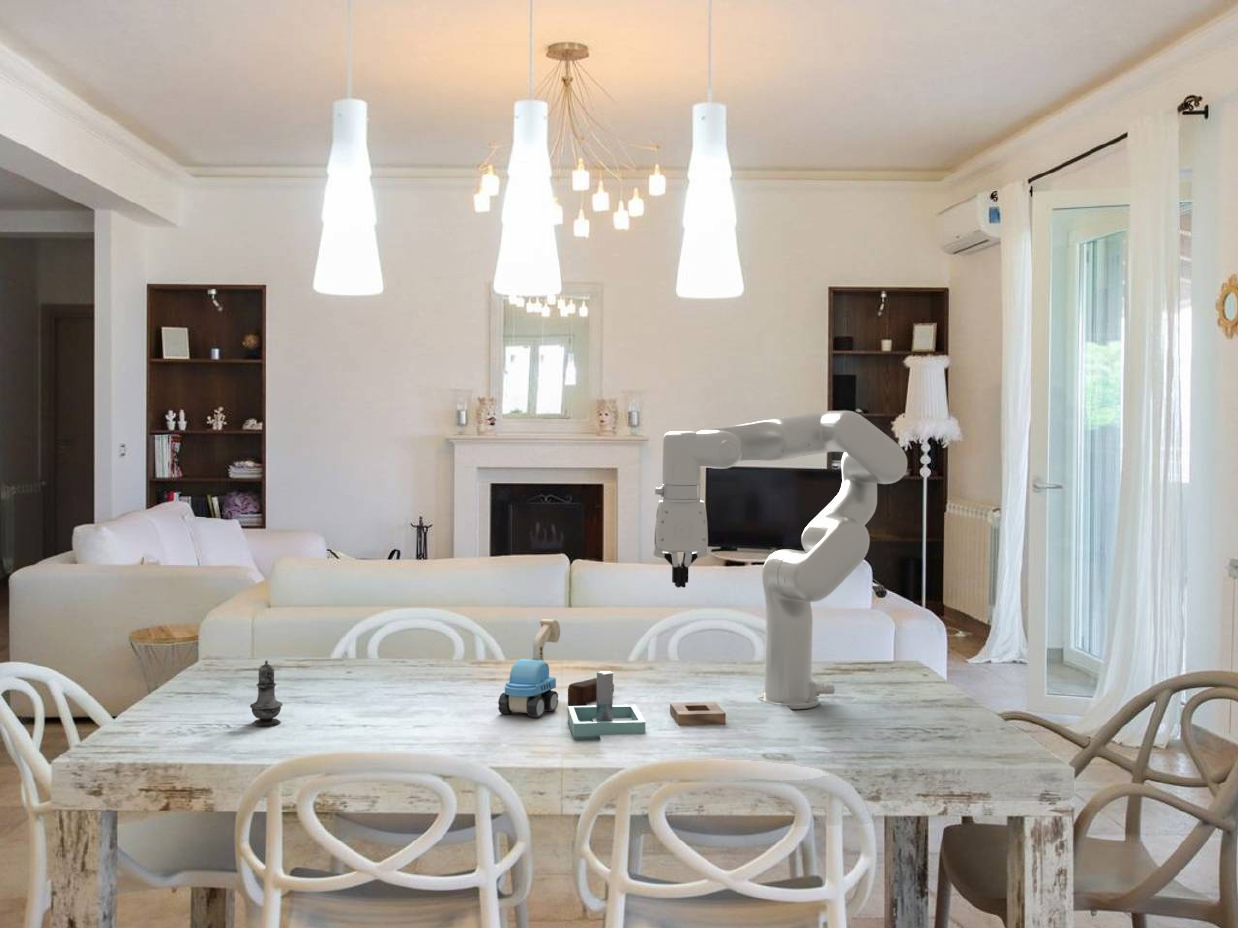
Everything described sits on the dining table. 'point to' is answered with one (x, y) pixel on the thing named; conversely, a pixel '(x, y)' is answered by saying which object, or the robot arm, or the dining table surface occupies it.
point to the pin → (604, 696)
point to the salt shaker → (266, 699)
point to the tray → (603, 722)
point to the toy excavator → (532, 678)
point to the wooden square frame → (697, 713)
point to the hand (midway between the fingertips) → (680, 586)
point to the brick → (582, 692)
